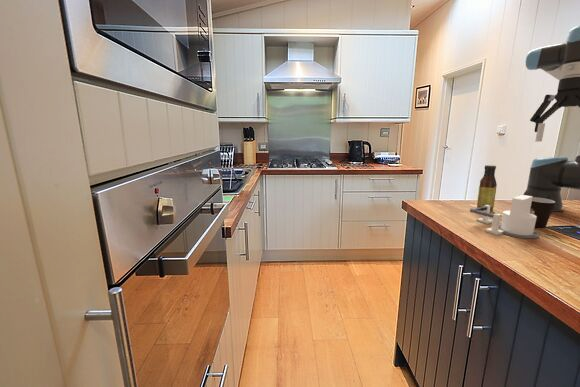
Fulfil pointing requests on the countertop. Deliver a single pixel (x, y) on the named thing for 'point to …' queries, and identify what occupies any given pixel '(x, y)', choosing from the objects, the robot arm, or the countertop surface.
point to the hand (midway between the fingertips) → (561, 142)
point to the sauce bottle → (487, 188)
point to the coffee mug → (541, 211)
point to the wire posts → (495, 222)
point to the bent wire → (479, 211)
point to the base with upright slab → (519, 217)
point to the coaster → (535, 235)
